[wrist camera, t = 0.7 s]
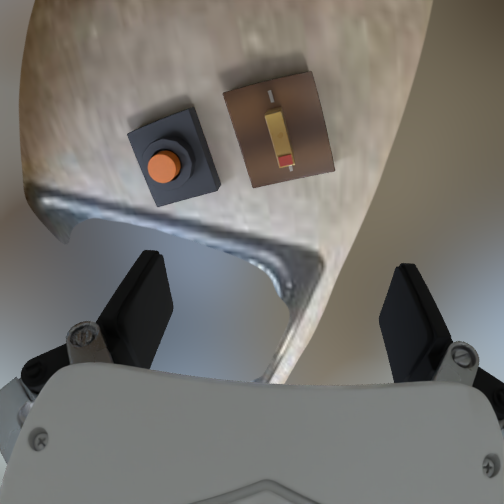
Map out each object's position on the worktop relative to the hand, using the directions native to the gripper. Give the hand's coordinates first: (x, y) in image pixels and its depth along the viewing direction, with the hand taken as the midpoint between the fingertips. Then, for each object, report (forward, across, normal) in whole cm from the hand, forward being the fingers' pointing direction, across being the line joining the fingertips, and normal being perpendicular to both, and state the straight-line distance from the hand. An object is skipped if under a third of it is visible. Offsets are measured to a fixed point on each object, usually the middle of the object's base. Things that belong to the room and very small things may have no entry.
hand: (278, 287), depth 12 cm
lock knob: (+24, 0, -2) cm, 24 cm away
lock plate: (+27, 0, -2) cm, 27 cm away
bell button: (+24, +14, +2) cm, 28 cm away
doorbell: (+28, +14, +2) cm, 31 cm away
